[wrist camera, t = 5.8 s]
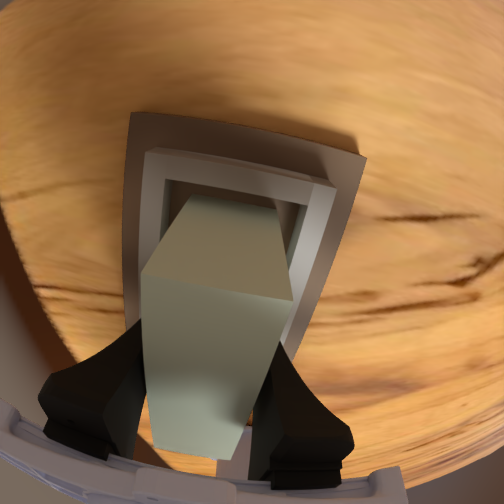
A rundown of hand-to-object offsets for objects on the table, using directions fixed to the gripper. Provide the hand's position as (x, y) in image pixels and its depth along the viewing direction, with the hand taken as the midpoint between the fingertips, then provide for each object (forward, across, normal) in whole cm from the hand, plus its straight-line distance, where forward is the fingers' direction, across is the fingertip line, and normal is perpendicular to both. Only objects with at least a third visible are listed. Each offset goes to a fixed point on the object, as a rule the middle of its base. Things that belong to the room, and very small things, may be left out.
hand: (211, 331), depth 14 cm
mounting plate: (+4, 0, 0) cm, 4 cm away
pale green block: (+3, 0, 0) cm, 3 cm away
